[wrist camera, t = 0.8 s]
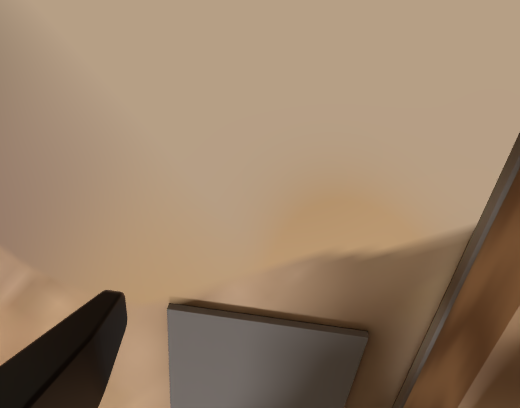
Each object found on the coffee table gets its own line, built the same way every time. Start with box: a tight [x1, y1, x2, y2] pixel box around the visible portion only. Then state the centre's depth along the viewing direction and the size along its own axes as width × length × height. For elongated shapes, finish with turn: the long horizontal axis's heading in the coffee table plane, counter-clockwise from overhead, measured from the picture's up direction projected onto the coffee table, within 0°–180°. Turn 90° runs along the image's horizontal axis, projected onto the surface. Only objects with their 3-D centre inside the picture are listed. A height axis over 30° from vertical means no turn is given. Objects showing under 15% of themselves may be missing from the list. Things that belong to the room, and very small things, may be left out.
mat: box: [167, 303, 368, 408], centre depth 23 cm, size 10×10×1 cm
